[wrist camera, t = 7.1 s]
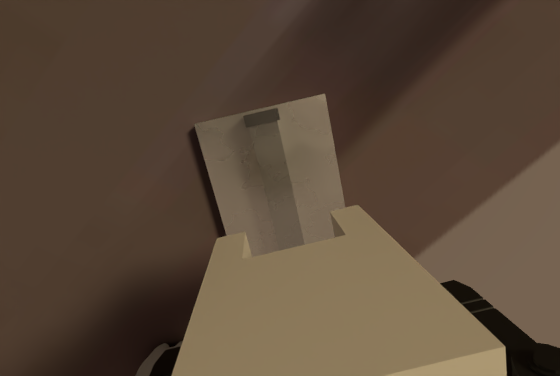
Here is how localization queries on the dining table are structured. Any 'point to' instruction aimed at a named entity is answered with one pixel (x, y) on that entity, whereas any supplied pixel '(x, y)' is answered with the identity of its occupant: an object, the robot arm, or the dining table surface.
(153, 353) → the bottle
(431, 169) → the dining table surface
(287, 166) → the rail board
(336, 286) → the block
